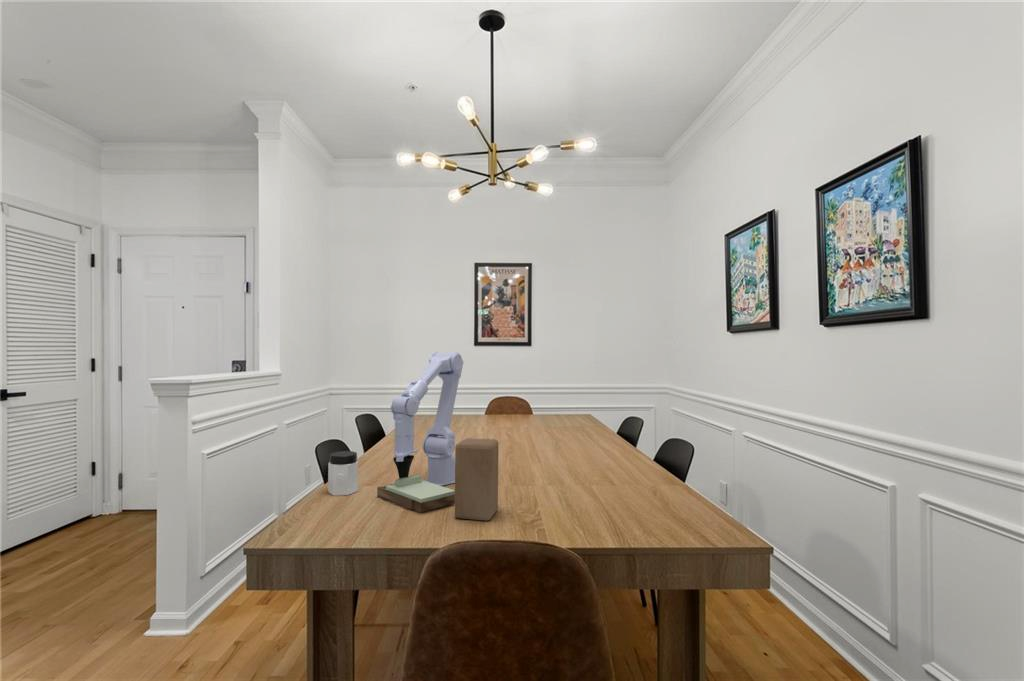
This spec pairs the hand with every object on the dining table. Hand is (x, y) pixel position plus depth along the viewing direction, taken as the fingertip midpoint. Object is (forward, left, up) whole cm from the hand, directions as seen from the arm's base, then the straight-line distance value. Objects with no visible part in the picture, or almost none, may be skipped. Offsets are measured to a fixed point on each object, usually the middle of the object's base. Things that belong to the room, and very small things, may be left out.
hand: (403, 480), depth 155 cm
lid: (0, +9, -2) cm, 9 cm away
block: (-5, +28, -5) cm, 29 cm away
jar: (+11, -17, -5) cm, 21 cm away
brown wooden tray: (-3, +5, -5) cm, 8 cm away
